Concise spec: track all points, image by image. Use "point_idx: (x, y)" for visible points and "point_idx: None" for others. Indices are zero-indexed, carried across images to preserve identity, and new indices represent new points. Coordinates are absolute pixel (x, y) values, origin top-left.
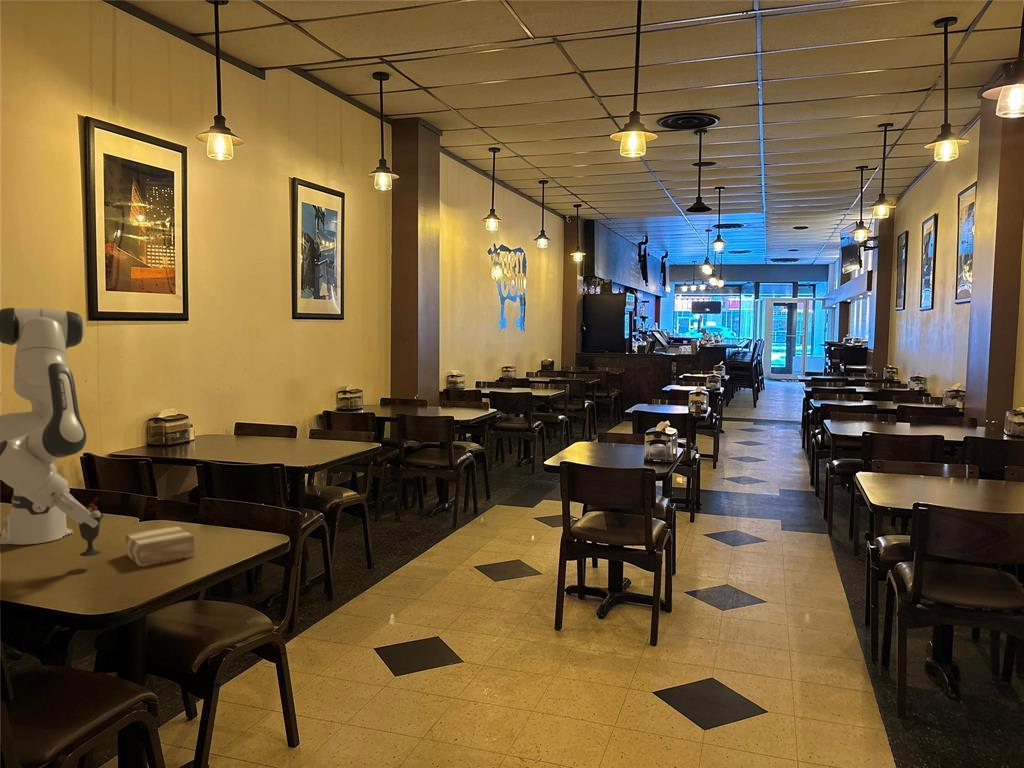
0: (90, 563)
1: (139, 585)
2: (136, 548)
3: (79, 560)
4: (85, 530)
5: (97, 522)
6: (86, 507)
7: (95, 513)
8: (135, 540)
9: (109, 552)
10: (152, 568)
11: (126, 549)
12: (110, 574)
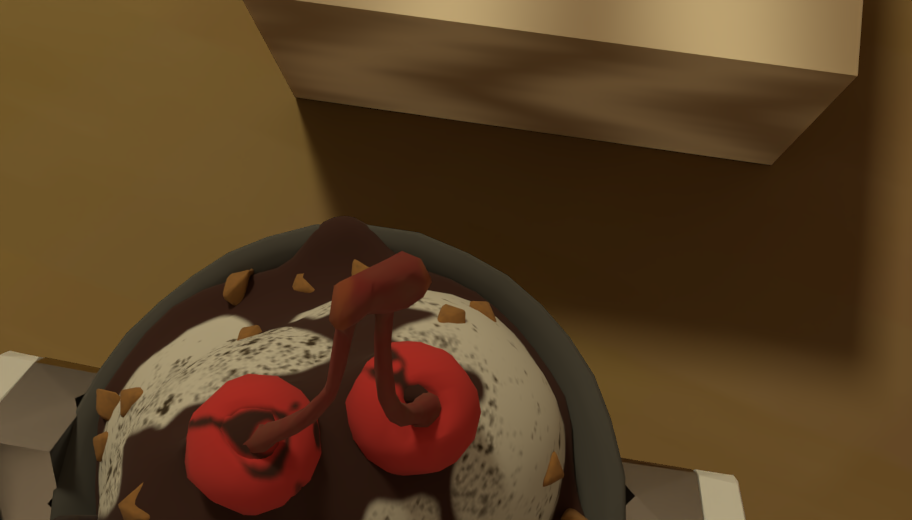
0: None
1: None
2: (679, 87)
3: None
4: None
5: (731, 491)
6: None
7: (547, 449)
8: (615, 32)
9: (98, 165)
10: (894, 115)
11: (303, 76)
12: (807, 446)
